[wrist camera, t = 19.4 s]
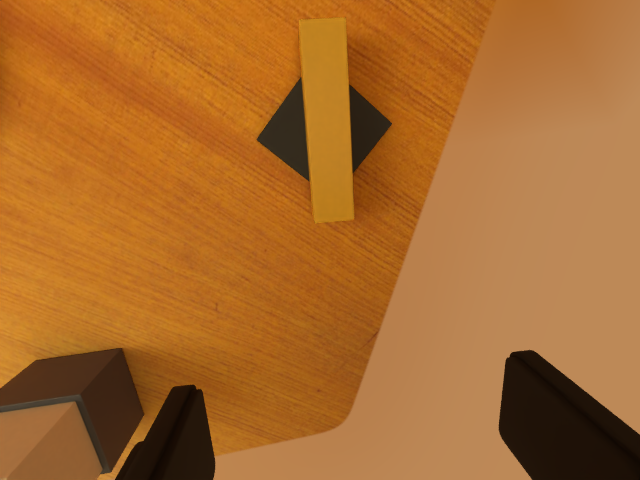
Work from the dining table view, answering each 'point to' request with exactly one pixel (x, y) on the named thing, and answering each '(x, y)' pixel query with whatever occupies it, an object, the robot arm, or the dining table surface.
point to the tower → (67, 417)
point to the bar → (327, 117)
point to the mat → (290, 132)
